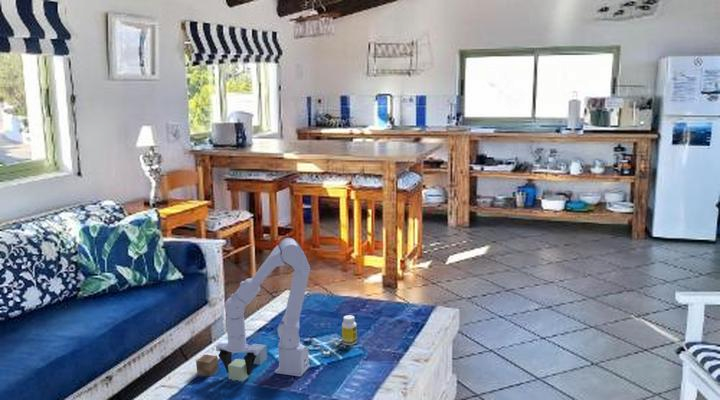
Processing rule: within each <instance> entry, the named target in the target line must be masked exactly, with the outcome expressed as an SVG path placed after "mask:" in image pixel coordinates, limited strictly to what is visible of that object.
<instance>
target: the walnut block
mask: <svg viewBox="0 0 720 400" xmlns="http://www.w3.org/2000/svg"><path fill="white" fill-rule="evenodd" d="M218 358H219V356H218V355H211V354H203V355H201V356H200V357H199V358H198V359H197V360H196V361H195V362H196V363H195V364H196V373H197V376H203V377H209V376H210V377H209V378H211V377H212V376H213V375H214V374H216V373H217V372H218V371H219V370H218V369H219V359H218ZM217 370H218V371H217ZM216 371H217V372H216ZM211 375H212V376H211Z"/></svg>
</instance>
